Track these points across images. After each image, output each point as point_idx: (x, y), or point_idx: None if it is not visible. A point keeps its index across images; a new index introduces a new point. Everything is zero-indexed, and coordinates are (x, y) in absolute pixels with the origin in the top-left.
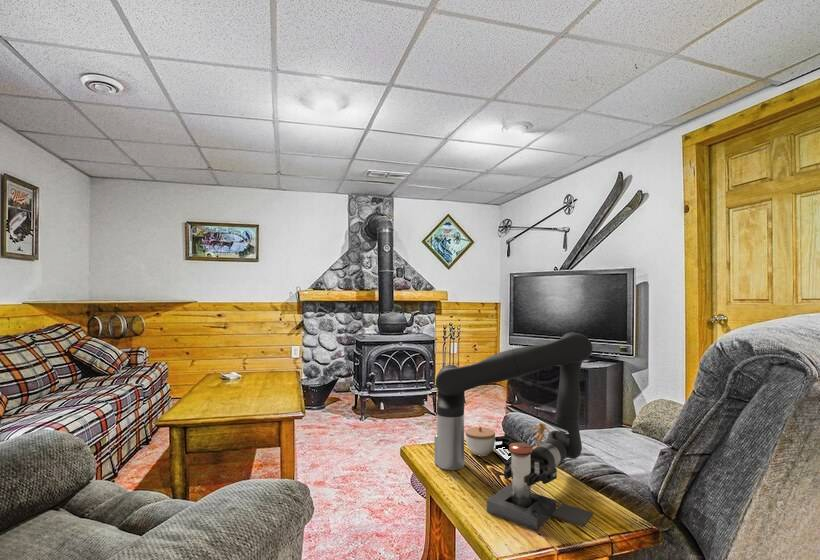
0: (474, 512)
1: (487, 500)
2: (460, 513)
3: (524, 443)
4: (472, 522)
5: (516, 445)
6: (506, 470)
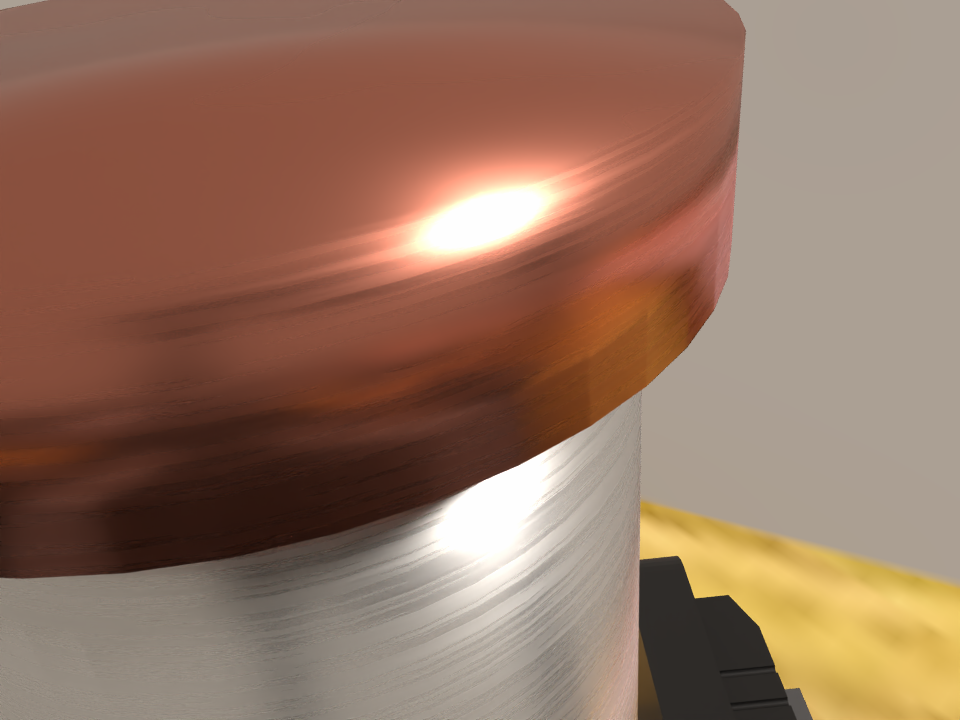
0: (850, 679)
1: (791, 692)
2: (904, 580)
3: (107, 248)
4: (704, 552)
5: (405, 22)
6: (659, 571)
